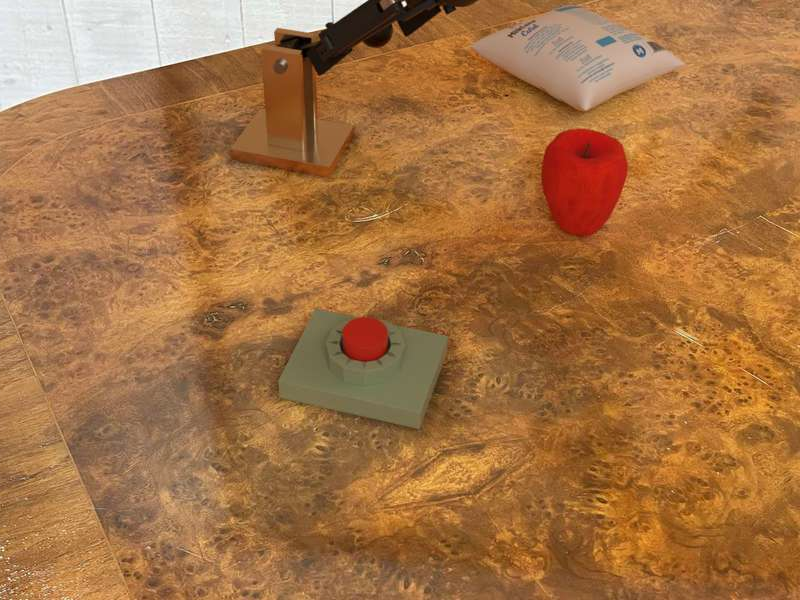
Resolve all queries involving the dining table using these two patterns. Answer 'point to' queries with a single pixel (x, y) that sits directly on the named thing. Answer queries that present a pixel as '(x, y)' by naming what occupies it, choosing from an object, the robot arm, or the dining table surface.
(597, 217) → the apple
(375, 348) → the stop button
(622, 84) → the pouch
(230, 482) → the dining table surface
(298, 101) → the power switch
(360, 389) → the stop button block
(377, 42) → the lever
